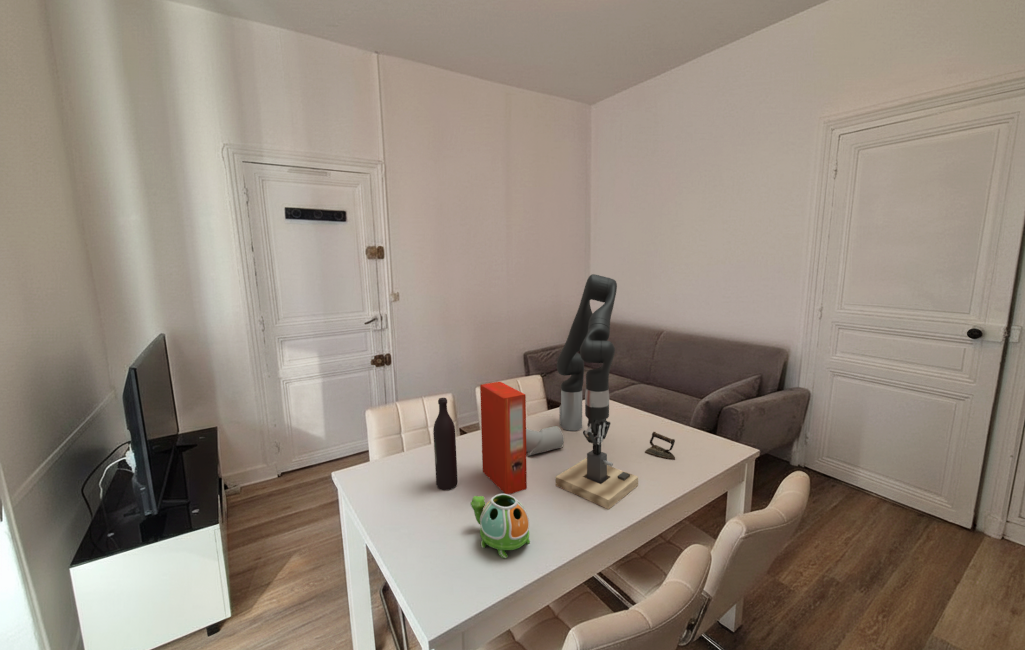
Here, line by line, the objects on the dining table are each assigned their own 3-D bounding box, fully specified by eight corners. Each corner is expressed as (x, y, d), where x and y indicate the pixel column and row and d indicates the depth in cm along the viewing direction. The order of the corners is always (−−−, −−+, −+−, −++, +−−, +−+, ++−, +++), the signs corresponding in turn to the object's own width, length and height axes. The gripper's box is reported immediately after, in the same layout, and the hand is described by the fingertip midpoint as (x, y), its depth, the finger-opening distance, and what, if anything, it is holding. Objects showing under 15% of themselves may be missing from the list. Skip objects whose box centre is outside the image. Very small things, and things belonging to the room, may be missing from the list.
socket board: (555, 485, 136) (555, 474, 135) (586, 465, 148) (586, 455, 148) (608, 509, 122) (608, 497, 121) (638, 485, 134) (638, 474, 134)
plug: (587, 482, 135) (587, 453, 134) (593, 477, 138) (593, 449, 137) (608, 490, 130) (608, 460, 128) (615, 485, 132) (615, 456, 131)
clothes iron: (652, 448, 162) (660, 426, 159) (677, 464, 154) (685, 441, 151) (642, 451, 157) (650, 429, 155) (668, 468, 149) (676, 445, 147)
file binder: (502, 466, 149) (500, 381, 144) (527, 488, 134) (525, 394, 129) (482, 472, 145) (479, 384, 140) (505, 495, 130) (502, 398, 126)
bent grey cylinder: (520, 461, 150) (566, 449, 159) (517, 432, 150) (563, 422, 159) (501, 453, 166) (544, 442, 175) (498, 426, 166) (540, 417, 175)
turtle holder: (490, 514, 121) (488, 476, 119) (539, 540, 109) (538, 498, 107) (458, 536, 111) (456, 495, 110) (508, 566, 100) (507, 521, 98)
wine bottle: (449, 477, 142) (445, 393, 138) (462, 484, 137) (457, 398, 133) (432, 485, 138) (427, 399, 133) (444, 493, 132) (439, 404, 128)
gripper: (598, 394, 138) (598, 443, 141) (575, 405, 129) (575, 457, 131) (618, 399, 133) (617, 450, 135) (595, 410, 124) (595, 464, 126)
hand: (596, 453), depth 133 cm, fingers closed
